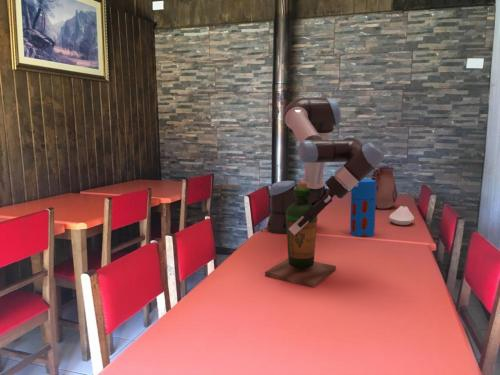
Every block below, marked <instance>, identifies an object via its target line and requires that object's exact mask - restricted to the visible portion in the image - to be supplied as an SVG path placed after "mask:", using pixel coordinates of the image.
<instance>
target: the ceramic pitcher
mask: <svg viewBox="0 0 500 375" xmlns="http://www.w3.org/2000/svg"><path fill="white" fill-rule="evenodd" d="M394 169H395V167H394V166H389V165H383V166H382V165H378V166H377V167H376V168H375V169H374V170H373V171H372V174H371V178H370V179H372V180H376V207H375V209H380V210H383V209H385V210H386V209H390V208H392V206H394V204H396V201H397V198H398V190H397V185H396V182H395V176H394V172H393V171H394Z"/></svg>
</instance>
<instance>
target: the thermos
mask: <svg viewBox="0 0 500 375" xmlns="http://www.w3.org/2000/svg"><path fill="white" fill-rule="evenodd" d="M357 184H358V186H357V187H356V186H354V187H353V188H352V189H351V190H350V192H351V193H350V221H349V222H350V223H349V224H350V225H349V227H350V230H349V231H350V235H352V236H354V237H358V238H359V237H360V238H361V237H362V238H369V237H373V236H374V235H375V229H376V226H375V225H376V208H375V207H376V180H372V179H371V178H369V179H368V178H364V179H362V180H361V181H360V182H359V183H357Z"/></svg>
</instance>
